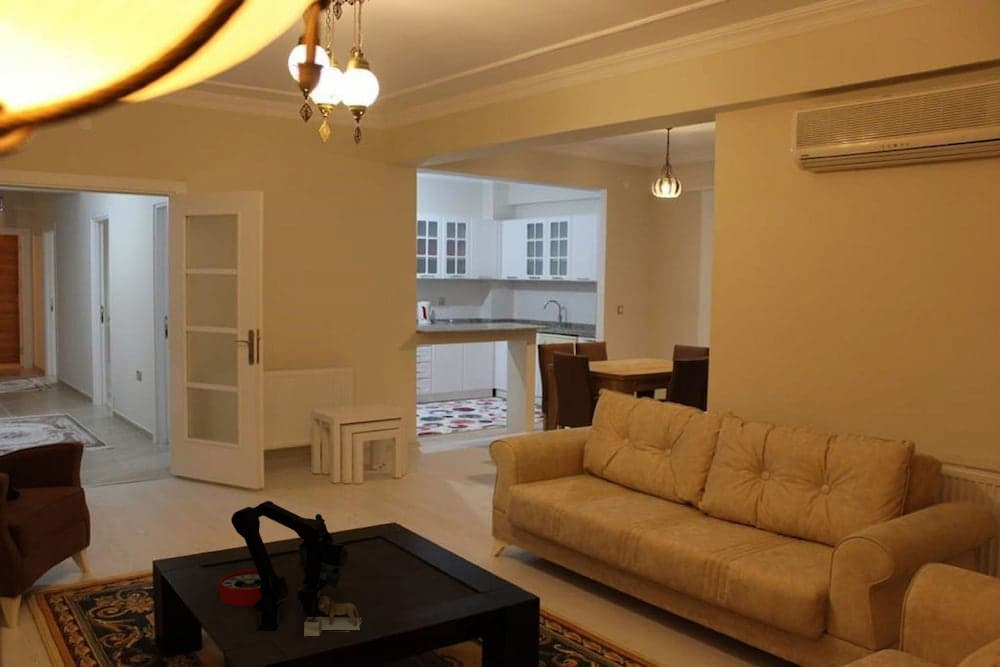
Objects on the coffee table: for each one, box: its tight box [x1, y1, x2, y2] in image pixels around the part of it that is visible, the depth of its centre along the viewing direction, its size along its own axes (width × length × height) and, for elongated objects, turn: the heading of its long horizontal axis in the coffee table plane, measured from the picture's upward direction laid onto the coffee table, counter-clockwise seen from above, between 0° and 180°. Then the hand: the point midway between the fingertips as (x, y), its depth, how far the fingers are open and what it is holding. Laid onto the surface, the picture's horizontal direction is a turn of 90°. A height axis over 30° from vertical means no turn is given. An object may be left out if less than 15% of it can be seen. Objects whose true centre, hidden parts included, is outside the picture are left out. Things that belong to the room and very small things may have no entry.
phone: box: [300, 594, 327, 613], centre depth 296 cm, size 8×1×15 cm
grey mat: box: [321, 616, 362, 630], centre depth 279 cm, size 10×16×1 cm, turn 90°
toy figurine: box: [298, 513, 326, 563], centre depth 338 cm, size 9×19×25 cm
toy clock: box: [218, 569, 262, 606], centre depth 303 cm, size 20×6×20 cm
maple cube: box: [303, 616, 323, 637], centre depth 271 cm, size 4×4×5 cm
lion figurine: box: [318, 595, 363, 626], centre depth 279 cm, size 15×5×9 cm, turn 94°
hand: (313, 611), depth 271 cm, fingers open, 9 cm apart
